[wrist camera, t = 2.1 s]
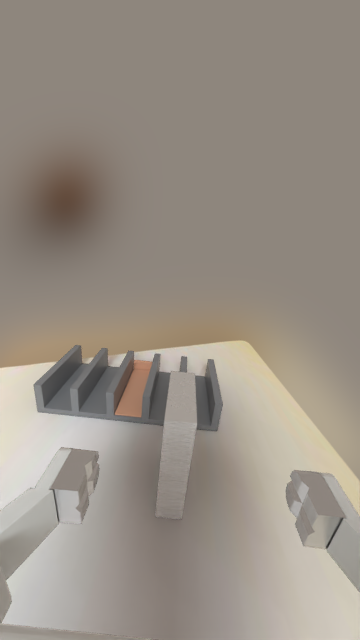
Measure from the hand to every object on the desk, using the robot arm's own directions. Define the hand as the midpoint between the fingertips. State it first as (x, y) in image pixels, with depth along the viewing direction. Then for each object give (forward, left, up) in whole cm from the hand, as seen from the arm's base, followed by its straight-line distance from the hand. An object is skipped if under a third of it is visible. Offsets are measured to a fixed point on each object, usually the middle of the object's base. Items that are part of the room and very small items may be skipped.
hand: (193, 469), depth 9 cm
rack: (-8, +29, -20) cm, 37 cm away
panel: (0, +13, -21) cm, 24 cm away
